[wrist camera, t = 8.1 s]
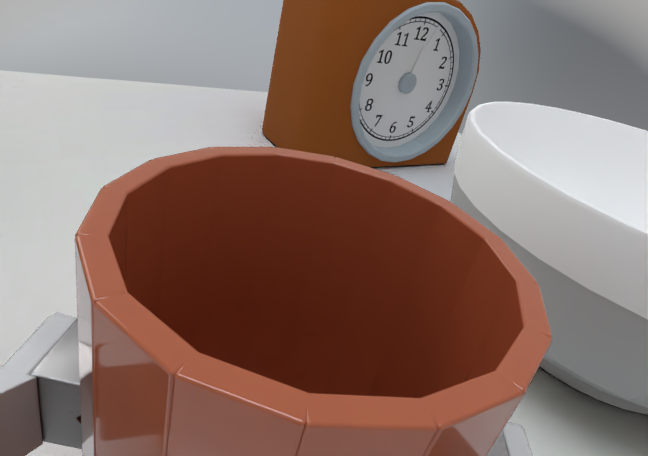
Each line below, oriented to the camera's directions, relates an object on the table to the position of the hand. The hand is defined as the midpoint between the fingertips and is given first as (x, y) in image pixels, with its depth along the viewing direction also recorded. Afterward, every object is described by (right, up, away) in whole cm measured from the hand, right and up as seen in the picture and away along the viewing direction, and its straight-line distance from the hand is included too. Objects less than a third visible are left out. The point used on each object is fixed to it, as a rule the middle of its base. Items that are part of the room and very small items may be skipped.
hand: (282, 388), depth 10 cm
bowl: (+14, -2, +15) cm, 21 cm away
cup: (-1, -5, +2) cm, 6 cm away
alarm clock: (+3, +10, +31) cm, 33 cm away
